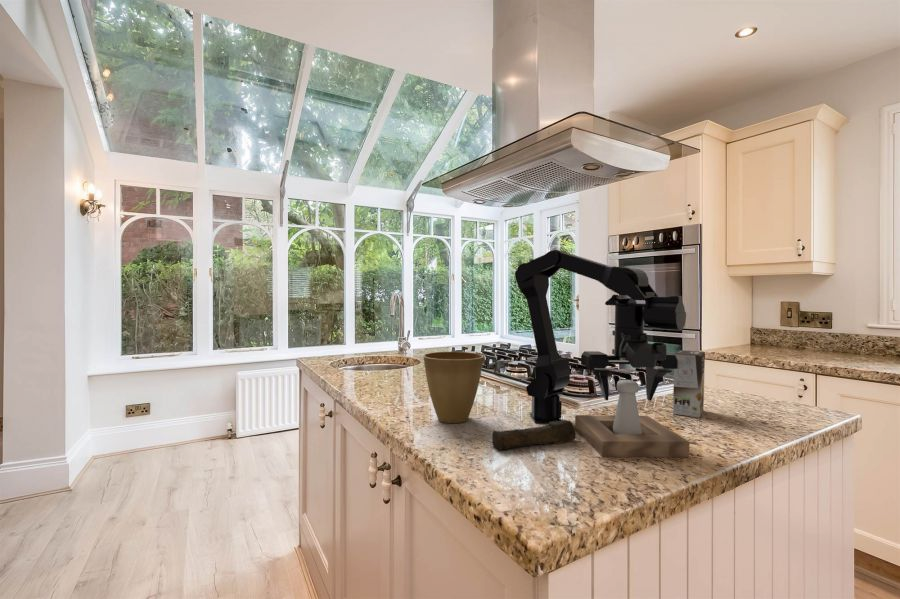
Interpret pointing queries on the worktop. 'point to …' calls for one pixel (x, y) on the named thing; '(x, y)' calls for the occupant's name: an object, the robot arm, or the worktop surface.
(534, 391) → the robot arm
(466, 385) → the plant pot
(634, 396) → the salt shaker
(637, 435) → the socket board
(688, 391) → the coffee box
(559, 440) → the dark brown log
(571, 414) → the worktop surface
